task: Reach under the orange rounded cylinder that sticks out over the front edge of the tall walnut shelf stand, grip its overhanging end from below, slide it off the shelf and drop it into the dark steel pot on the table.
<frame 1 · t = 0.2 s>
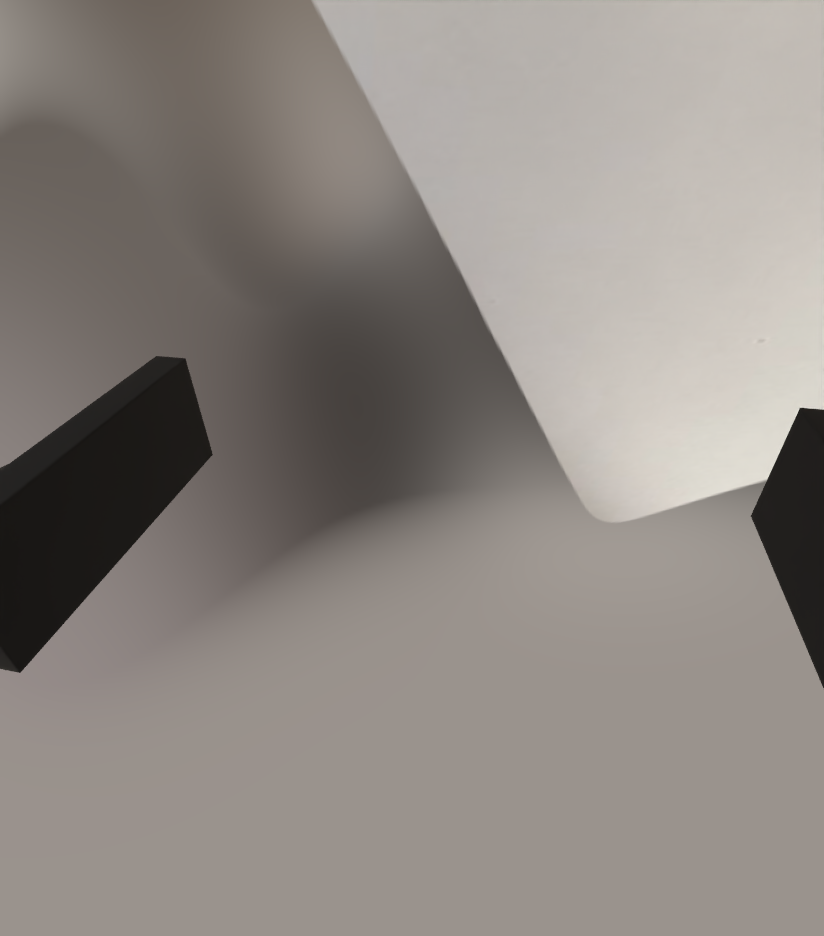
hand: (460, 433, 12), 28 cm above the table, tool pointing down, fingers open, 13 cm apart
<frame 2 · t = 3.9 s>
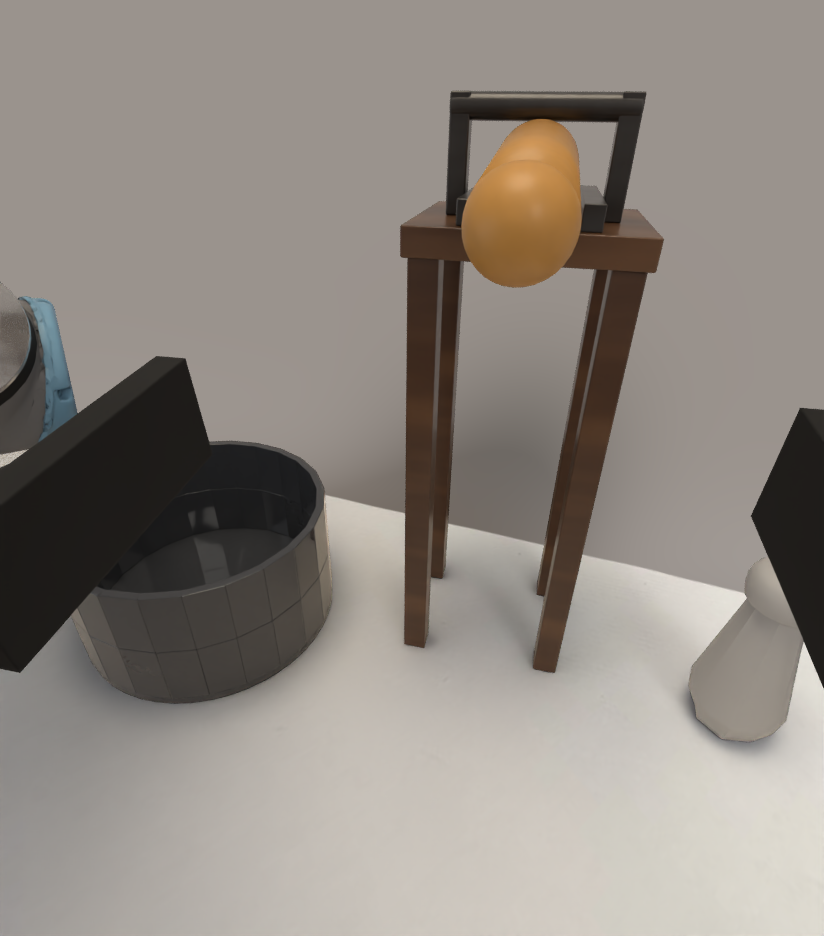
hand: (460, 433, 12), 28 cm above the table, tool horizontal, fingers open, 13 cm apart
salt shaker: (724, 716, 38), on the table
shelf stand: (484, 612, 45), on the table
pot: (216, 601, 46), on the table
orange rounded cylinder: (524, 240, 24), point 30 cm above the table, tilted 6°, touching shelf stand
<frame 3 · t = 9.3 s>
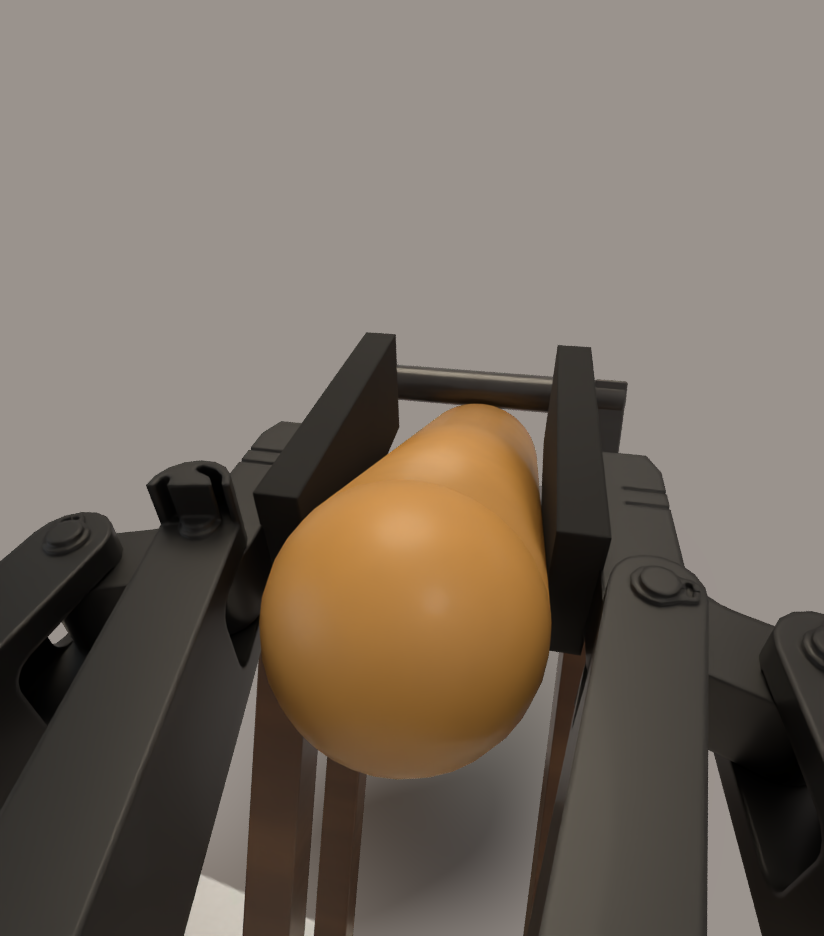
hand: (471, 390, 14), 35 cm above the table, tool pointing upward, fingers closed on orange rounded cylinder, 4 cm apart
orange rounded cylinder: (447, 587, 13), point 30 cm above the table, tilted 6°, touching gripper, shelf stand
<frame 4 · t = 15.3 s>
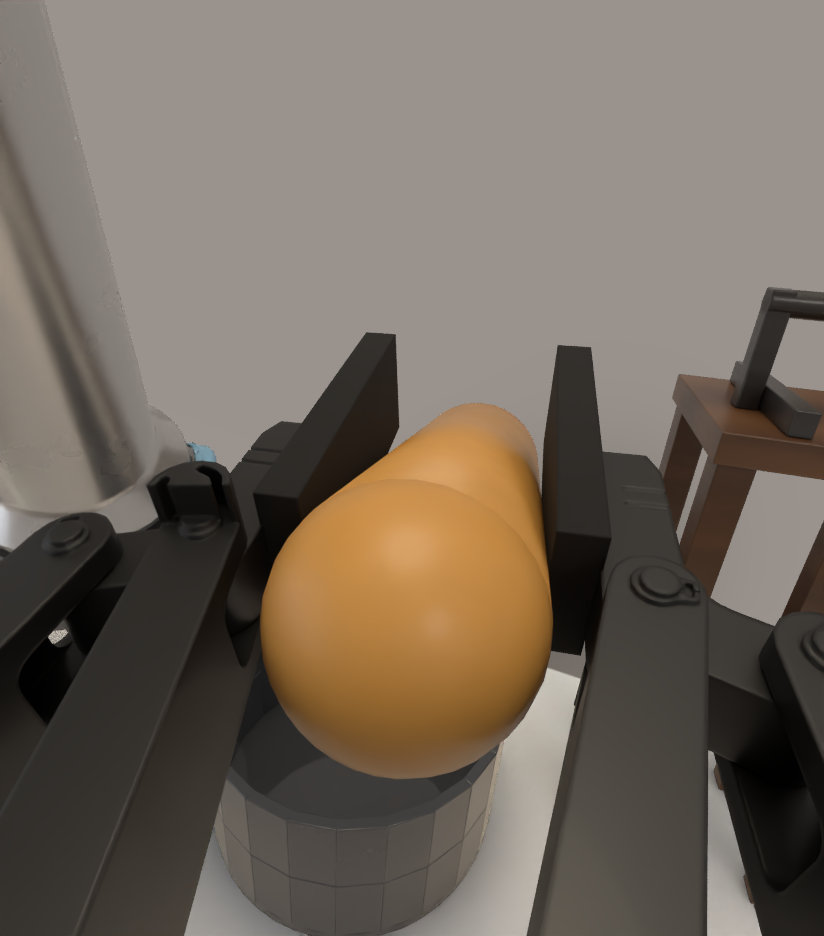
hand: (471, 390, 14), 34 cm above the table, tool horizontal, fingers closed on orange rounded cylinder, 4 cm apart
shelf stand: (667, 813, 39), on the table
pot: (355, 780, 40), on the table
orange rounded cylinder: (448, 587, 13), point 29 cm above the table, tilted 12°, touching gripper
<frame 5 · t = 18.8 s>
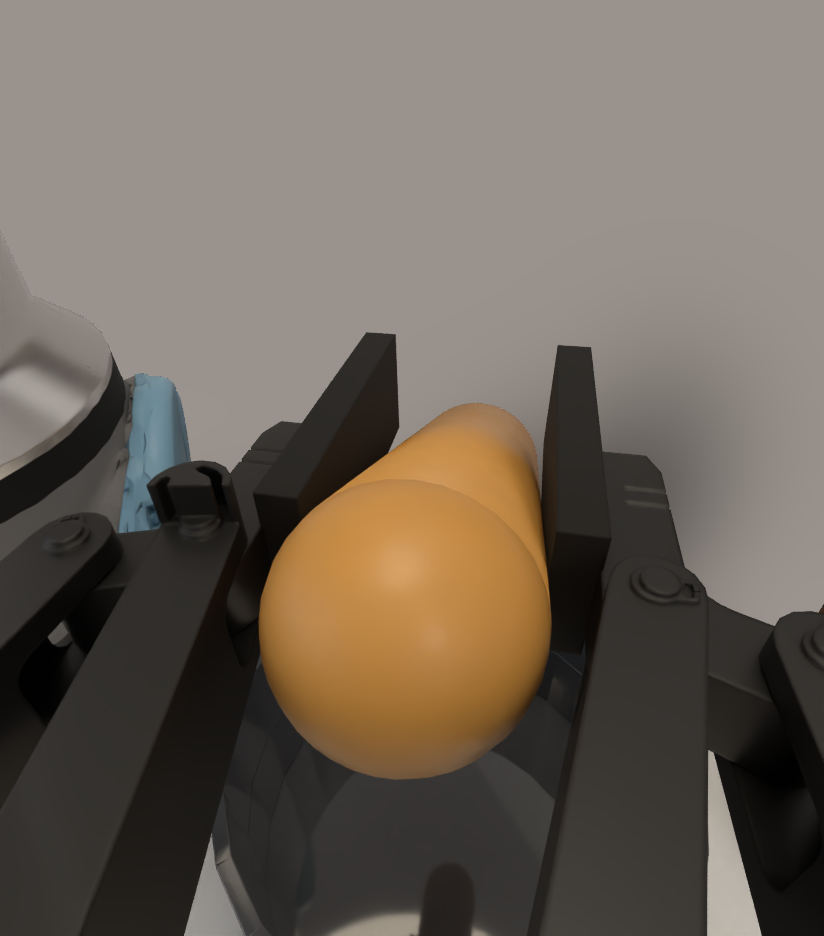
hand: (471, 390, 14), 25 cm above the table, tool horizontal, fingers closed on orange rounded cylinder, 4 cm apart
pot: (447, 826, 28), on the table
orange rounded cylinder: (447, 587, 13), point 22 cm above the table, tilted 24°, touching gripper
when the fingers open (16 cm above the table, at t = 21.8 s): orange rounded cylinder drops 11 cm, resting on pot.
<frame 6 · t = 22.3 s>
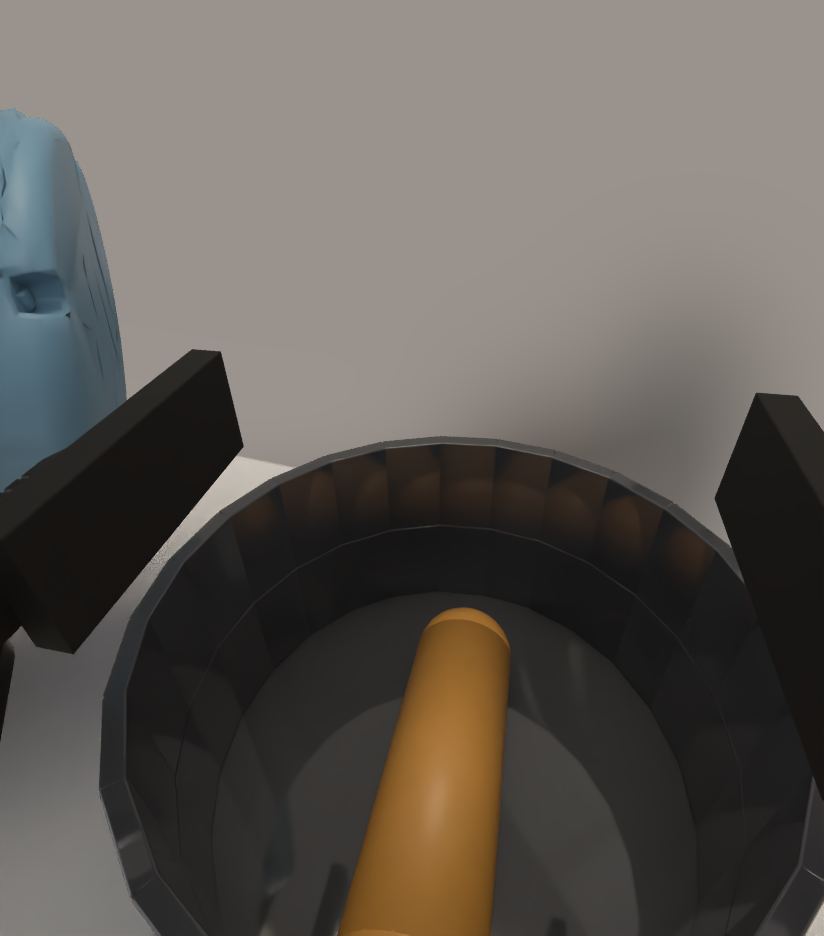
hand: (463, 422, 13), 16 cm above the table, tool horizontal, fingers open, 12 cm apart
pot: (448, 775, 22), on the table
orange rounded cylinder: (440, 809, 20), point 1 cm above the table, tilted 9°, touching pot
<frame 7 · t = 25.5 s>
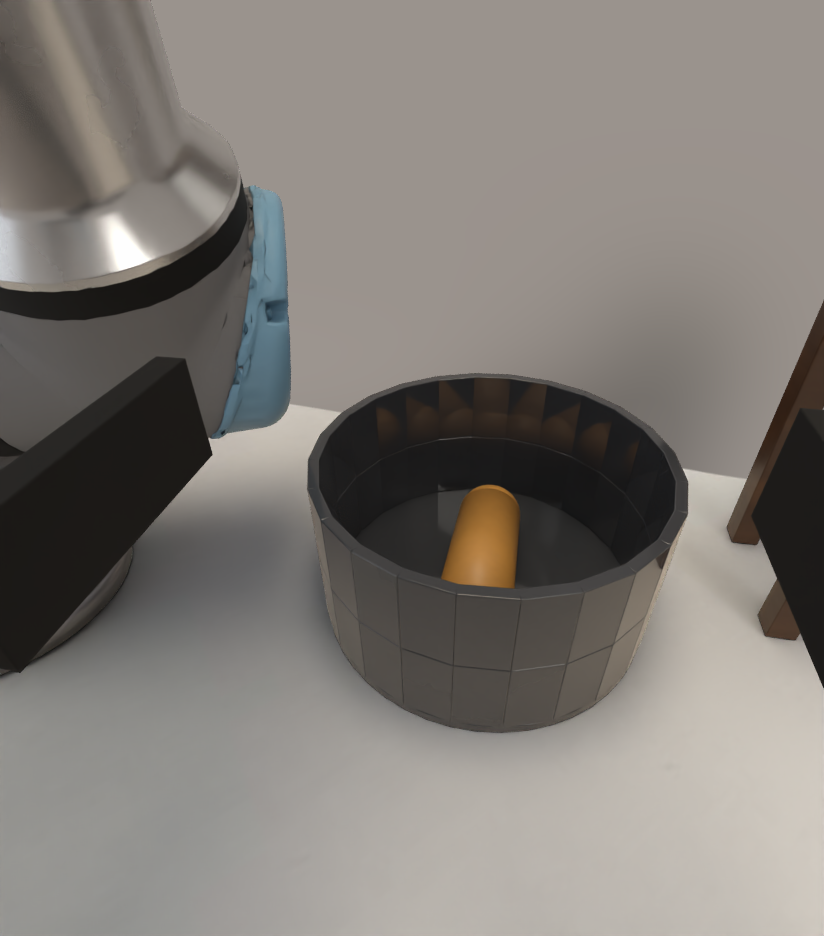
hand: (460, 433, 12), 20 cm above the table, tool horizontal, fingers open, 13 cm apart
pot: (480, 584, 35), on the table
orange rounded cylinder: (478, 592, 33), point 1 cm above the table, tilted 9°, touching pot
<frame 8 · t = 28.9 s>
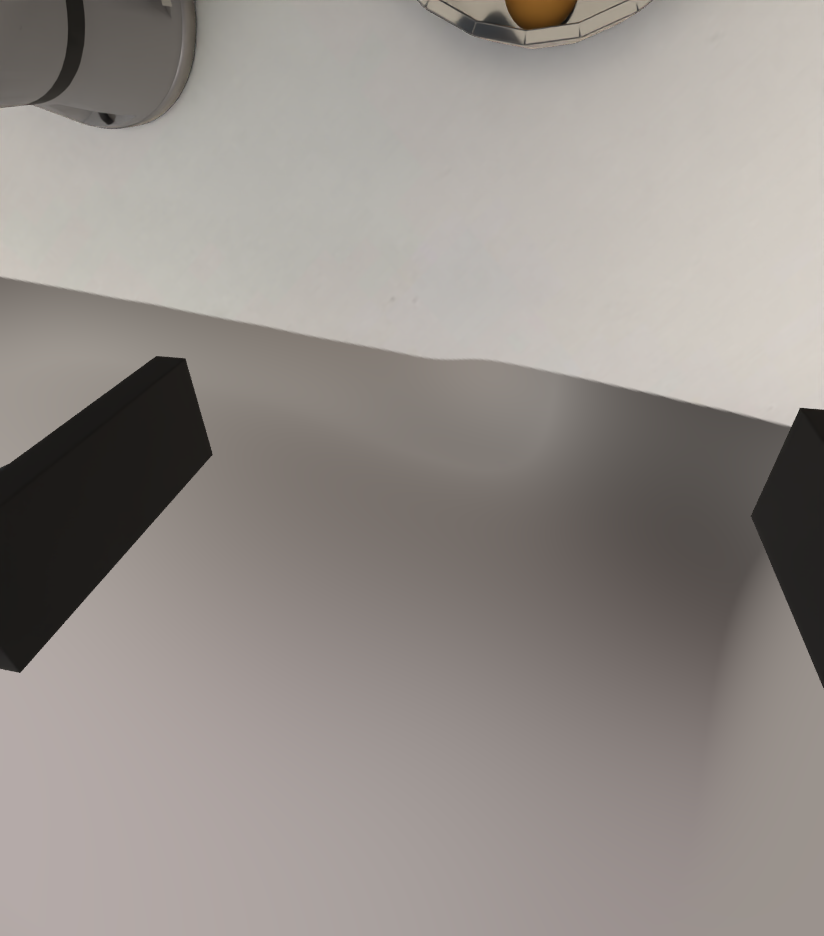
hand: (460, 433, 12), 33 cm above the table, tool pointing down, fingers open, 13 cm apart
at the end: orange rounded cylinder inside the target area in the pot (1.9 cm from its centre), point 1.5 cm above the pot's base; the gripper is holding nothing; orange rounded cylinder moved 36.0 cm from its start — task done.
